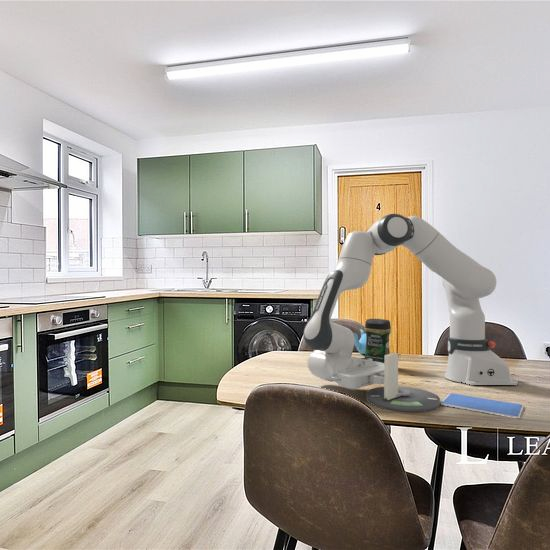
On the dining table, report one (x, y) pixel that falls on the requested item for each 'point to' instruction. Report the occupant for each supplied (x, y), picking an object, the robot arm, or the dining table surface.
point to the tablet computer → (483, 405)
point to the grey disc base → (405, 400)
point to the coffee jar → (377, 339)
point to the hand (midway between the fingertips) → (389, 381)
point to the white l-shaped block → (392, 378)
